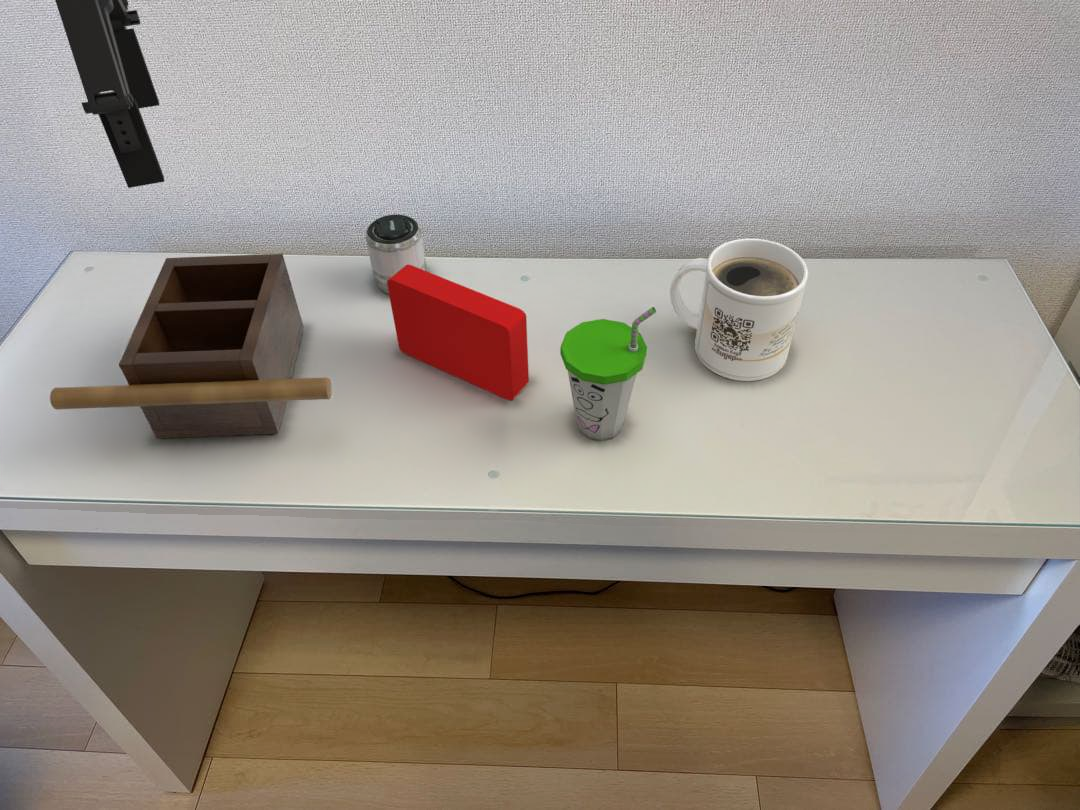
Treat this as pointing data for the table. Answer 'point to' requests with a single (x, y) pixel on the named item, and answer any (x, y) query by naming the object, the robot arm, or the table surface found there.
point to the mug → (745, 307)
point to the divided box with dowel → (211, 351)
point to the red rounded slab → (460, 331)
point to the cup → (603, 372)
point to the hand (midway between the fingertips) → (145, 142)
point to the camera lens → (394, 246)
